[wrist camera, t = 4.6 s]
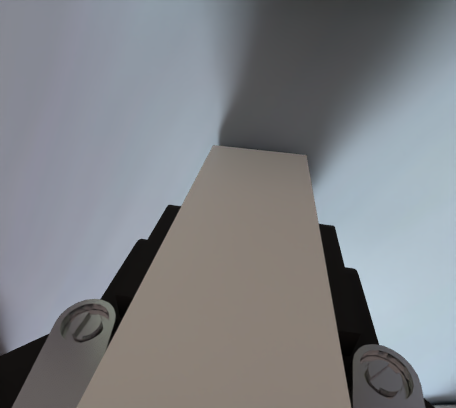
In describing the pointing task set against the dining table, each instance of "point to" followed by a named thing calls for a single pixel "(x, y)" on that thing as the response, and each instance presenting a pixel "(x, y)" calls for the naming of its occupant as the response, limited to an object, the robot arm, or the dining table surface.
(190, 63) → the dining table surface
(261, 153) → the plug
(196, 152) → the dining table surface
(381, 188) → the dining table surface
